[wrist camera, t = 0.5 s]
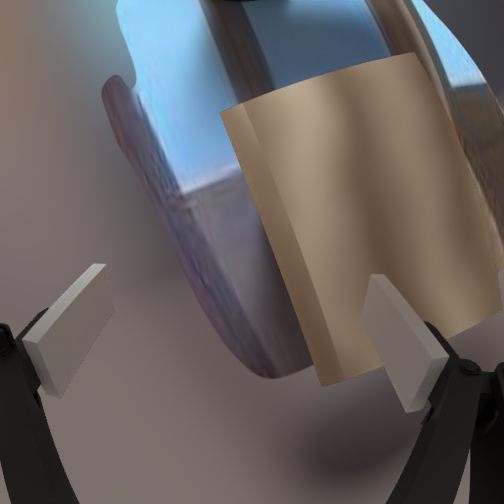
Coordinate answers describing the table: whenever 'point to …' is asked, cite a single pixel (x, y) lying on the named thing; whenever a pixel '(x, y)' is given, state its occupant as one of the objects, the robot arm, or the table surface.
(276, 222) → the shelf
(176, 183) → the table surface
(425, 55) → the table surface
